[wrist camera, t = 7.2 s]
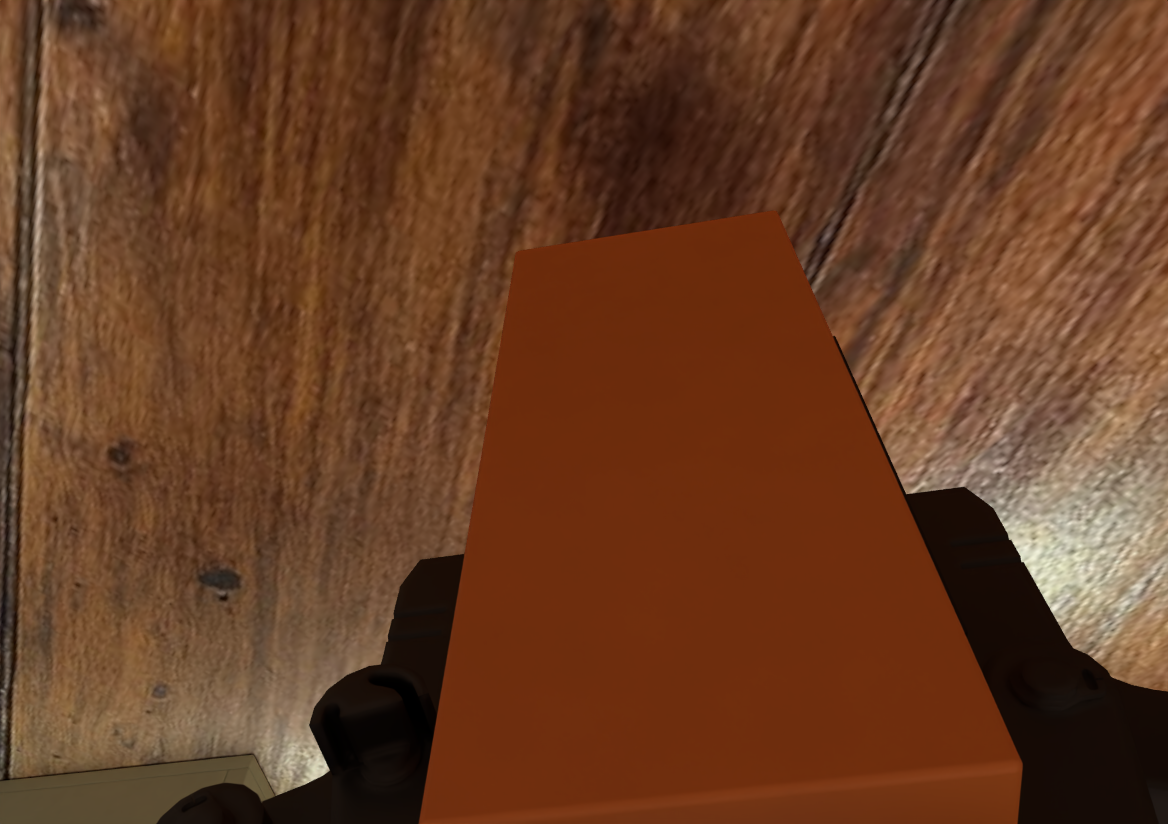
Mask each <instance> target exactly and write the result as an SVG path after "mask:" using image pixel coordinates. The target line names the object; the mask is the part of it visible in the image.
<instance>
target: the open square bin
mask: <svg viewBox="0 0 1168 824" xmlns="http://www.w3.org/2000/svg"><path fill="white" fill-rule="evenodd" d="M220 783H234V784H243V785H245V786H247V787H248V788H250V789H251V790H253V791H254V792H255V793H257V794H258V795H259V797H260V799H261V801H264V800H267V799H269V798H272V797H275V795H274V793H273V792H272V790H271V788H270V786H269V784H268V782H267V780H266V778H265V776H264V774H263V772H262V770H261V768H260V767H259V765H258V763H257V761H256V759H255V757H254V755H245V756H236V757H226V758H216V759H207V760H197V761H188V762H178V763H169V764H159V765H150V766H140V767H130V768H121V769H111V770H102V771H92V772H83V773H73V774H64V775H54V776H44V777H35V778H25V779H16V780H6V781H0V824H156V823H157V822H158V820H159V819H160V817H161V816H163V815H164V814H165V813H166V812H167V811H168V810H169V809H170V808H172V807H173V806H174V805H175V804H176V803H177V802H178V801H179V800H181V799H183V798H184V797H186V796H188V795H190V794H192V793H194V792H196V791H197V790H199V789H201V788H204V787H208V786H212V785H216V784H220Z"/></svg>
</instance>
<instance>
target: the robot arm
mask: <svg viewBox="0 0 1168 824" xmlns="http://www.w3.org/2000/svg"><path fill="white" fill-rule="evenodd" d="M833 338H834V340H835V343H836V345H837V347H838V349H839V352H840V354H841V356H842V358H843V361H844V363H845V365H846V367H847V370H848V372H849V374H850V376H851V379H852V381H853V383H854V385H855V388H856V390H857V392H858V394H859V397H860V399H861V401H862V403H863V406H864V408H865V410H866V412H867V415H868V417H869V419H870V421H871V424H872V426H873V428H874V430H875V433H876V435H877V437H878V439H879V442H880V444H881V446H882V448H883V451H884V453H885V455H886V457H887V460H888V462H889V464H890V466H891V469H892V471H893V473H894V475H895V478H896V480H897V482H898V484H899V487H900V489H901V491H902V493H903V496H904V498H905V500H906V502H907V505H908V507H909V509H910V511H911V514H912V516H913V518H914V520H915V523H916V525H917V527H918V529H919V532H920V534H921V536H922V538H923V541H924V543H925V545H926V547H927V550H928V552H929V554H930V556H931V559H932V561H933V563H934V565H935V568H936V570H937V572H938V574H939V577H940V579H941V581H942V583H943V586H944V588H945V590H946V592H947V595H948V597H949V599H950V601H951V604H952V606H953V608H954V610H955V613H956V615H957V617H958V619H959V622H960V624H961V626H962V628H963V631H964V633H965V635H966V637H967V640H968V642H969V644H970V646H971V649H972V651H973V653H974V655H975V658H976V660H977V662H978V664H979V667H980V669H981V671H982V673H983V676H984V678H985V680H986V682H987V685H988V687H989V689H990V691H991V694H992V696H993V698H994V700H995V703H996V705H997V707H998V709H999V712H1000V714H1001V716H1002V718H1003V721H1004V723H1005V725H1006V727H1007V730H1008V732H1009V734H1010V736H1011V739H1012V741H1013V743H1014V745H1015V748H1016V750H1017V752H1018V754H1019V757H1020V759H1021V761H1022V763H1023V769H1022V780H1021V791H1020V801H1019V812H1018V823H1017V824H1168V692H1167V691H1160V690H1153V689H1148V688H1144V687H1139V686H1134V685H1130V684H1128V683H1125V682H1122V681H1120V680H1117V679H1115V678H1112V677H1111V676H1110V674H1109V673H1108V671H1107V670H1106V669H1105V668H1104V667H1103V666H1101V665H1100V664H1099V663H1098V662H1096V661H1095V660H1094V659H1093V658H1091V657H1090V656H1089V655H1088V654H1085V653H1083V652H1081V651H1078V650H1076V649H1074V648H1073V647H1072V646H1071V644H1070V643H1069V642H1068V640H1067V638H1066V637H1065V635H1064V633H1063V631H1062V629H1061V628H1060V626H1059V624H1058V622H1057V621H1056V619H1055V617H1054V615H1053V613H1052V612H1051V610H1050V608H1049V606H1048V605H1047V603H1046V601H1045V599H1044V597H1043V596H1042V594H1041V592H1040V590H1039V589H1038V587H1037V585H1036V583H1035V582H1034V580H1033V578H1032V576H1031V574H1030V573H1029V571H1028V569H1027V567H1026V566H1025V564H1024V562H1021V558H1020V555H1019V553H1018V551H1017V550H1016V548H1015V546H1014V544H1013V542H1012V541H1011V540H1009V538H1008V534H1007V532H1006V530H1005V528H1004V526H1003V525H1002V523H1001V521H1000V519H999V518H998V516H997V514H996V512H995V510H994V509H993V508H992V507H991V506H990V505H988V504H987V503H986V502H984V501H983V500H982V499H980V498H979V497H978V496H976V495H975V494H973V493H972V492H971V491H969V490H968V489H967V488H965V487H959V488H951V489H943V490H936V491H928V492H920V493H913V494H906V493H905V491H904V489H903V486H902V484H901V482H900V480H899V477H898V475H897V473H896V471H895V468H894V466H893V464H892V462H891V460H890V457H889V455H888V453H887V451H886V448H885V446H884V444H883V442H882V439H881V437H880V435H879V433H878V431H877V428H876V426H875V424H874V422H873V419H872V417H871V415H870V413H869V410H868V408H867V406H866V404H865V402H864V399H863V397H862V395H861V393H860V390H859V388H858V386H857V384H856V381H855V379H854V377H853V375H852V373H851V370H850V368H849V366H848V364H847V361H846V359H845V357H844V355H843V353H842V350H841V348H840V346H839V344H838V341H837V339H836V337H835V336H833ZM464 555H465V554H461V555H453V556H445V557H438V558H430V559H422V560H420V561H419V562H418V563H417V565H416V566H415V567H414V569H413V570H412V571H411V573H410V574H409V575H408V577H407V578H406V579H405V580H404V582H403V583H402V584H401V586H400V589H399V593H398V597H397V601H396V605H395V610H394V619H392V622H391V626H390V630H389V634H388V642H386V646H385V650H384V654H383V658H382V662H381V665H374V666H368V667H366V668H363V669H361V670H358V671H356V672H353V673H351V674H349V675H347V676H345V677H344V678H343V679H341V680H340V681H339V682H337V683H336V684H334V685H333V686H332V687H330V688H329V689H328V690H327V691H326V693H325V694H324V695H323V697H322V698H321V699H320V701H319V702H318V703H317V704H316V706H315V707H314V711H313V714H312V717H311V721H310V724H309V726H310V728H311V731H312V733H313V735H314V737H315V739H316V741H317V744H318V746H319V748H320V750H321V752H322V754H323V756H324V759H325V761H326V763H327V765H328V767H329V769H330V771H329V772H328V773H326V774H325V775H323V776H321V777H319V778H317V779H315V780H313V781H311V782H309V783H307V784H305V785H303V786H300V787H297V788H295V789H292V790H290V791H287V792H285V793H282V794H280V795H277V796H275V797H272V798H269V799H267V800H264V801H261V799H260V797H259V795H258V794H257V793H255V792H254V791H253V790H251V789H250V788H248V787H247V786H245V785H243V784H234V783H220V784H216V785H212V786H208V787H204V788H201V789H199V790H197V791H196V792H194V793H192V794H190V795H188V796H186V797H184V798H183V799H181V800H179V801H178V802H177V803H176V804H175V805H174V806H173V807H172V808H170V809H169V810H168V811H167V812H166V813H165V814H164V815H163V816H161V817H160V819H159V820H158V822H157V823H156V824H419V819H420V813H421V807H422V801H423V795H424V790H425V784H426V778H427V772H428V766H429V760H430V754H431V748H432V743H433V737H434V731H435V725H436V719H437V713H438V707H439V701H440V696H441V690H442V684H443V678H444V672H445V666H446V660H447V654H448V649H449V643H450V637H451V631H452V625H453V619H454V613H455V607H456V602H457V596H458V590H459V584H460V578H461V572H462V566H463V560H464Z"/></svg>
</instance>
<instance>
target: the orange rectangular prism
mask: <svg viewBox="0 0 1168 824" xmlns="http://www.w3.org/2000/svg"><path fill="white" fill-rule="evenodd" d="M1022 769H1023V763H1022V761H1021V759H1020V757H1019V754H1018V752H1017V750H1016V748H1015V745H1014V743H1013V741H1012V739H1011V736H1010V734H1009V732H1008V730H1007V727H1006V725H1005V723H1004V721H1003V718H1002V716H1001V714H1000V712H999V709H998V707H997V705H996V703H995V700H994V698H993V696H992V694H991V691H990V689H989V687H988V685H987V682H986V680H985V678H984V676H983V673H982V671H981V669H980V667H979V664H978V662H977V660H976V658H975V655H974V653H973V651H972V649H971V646H970V644H969V642H968V640H967V637H966V635H965V633H964V631H963V628H962V626H961V624H960V622H959V619H958V617H957V615H956V613H955V610H954V608H953V606H952V604H951V601H950V599H949V597H948V595H947V592H946V590H945V588H944V586H943V583H942V581H941V579H940V577H939V574H938V572H937V570H936V568H935V565H934V563H933V561H932V559H931V556H930V554H929V552H928V550H927V547H926V545H925V543H924V541H923V538H922V536H921V534H920V532H919V529H918V527H917V525H916V523H915V520H914V518H913V516H912V514H911V511H910V509H909V507H908V505H907V502H906V500H905V498H904V496H903V493H902V491H901V489H900V487H899V484H898V482H897V480H896V478H895V475H894V473H893V471H892V469H891V466H890V464H889V462H888V460H887V457H886V455H885V453H884V451H883V448H882V446H881V444H880V442H879V439H878V437H877V435H876V433H875V430H874V428H873V426H872V424H871V421H870V419H869V417H868V415H867V412H866V410H865V408H864V406H863V403H862V401H861V399H860V397H859V394H858V392H857V390H856V388H855V385H854V383H853V381H852V379H851V376H850V374H849V372H848V370H847V367H846V365H845V363H844V361H843V358H842V356H841V354H840V352H839V349H838V347H837V345H836V343H835V340H834V338H833V336H832V334H831V331H830V329H829V327H828V325H827V322H826V320H825V318H824V316H823V313H822V311H821V309H820V307H819V304H818V302H817V300H816V298H815V295H814V293H813V291H812V289H811V286H810V284H809V282H808V280H807V277H806V275H805V273H804V271H803V268H802V266H801V264H800V262H799V259H798V257H797V255H796V253H795V250H794V248H793V246H792V244H791V242H790V239H789V237H788V235H787V233H786V230H785V228H784V226H783V224H782V221H781V219H780V217H779V215H778V213H777V211H767V212H760V213H754V214H748V215H742V216H735V217H729V218H723V219H716V220H710V221H704V222H697V223H691V224H685V225H678V226H672V227H666V228H660V229H653V230H647V231H641V232H634V233H628V234H622V235H615V236H609V237H603V238H597V239H590V240H584V241H578V242H571V243H565V244H559V245H552V246H546V247H540V248H534V249H527V250H521V251H518V252H516V255H515V261H514V267H513V272H512V278H511V284H510V290H509V296H508V302H507V308H506V314H505V320H504V325H503V331H502V337H501V343H500V349H499V355H498V361H497V367H496V372H495V378H494V384H493V390H492V396H491V402H490V408H489V414H488V419H487V425H486V431H485V437H484V443H483V449H482V455H481V461H480V466H479V472H478V478H477V484H476V490H475V496H474V502H473V508H472V513H471V519H470V525H469V531H468V537H467V543H466V549H465V555H464V560H463V566H462V572H461V578H460V584H459V590H458V596H457V602H456V607H455V613H454V619H453V625H452V631H451V637H450V643H449V649H448V654H447V660H446V666H445V672H444V678H443V684H442V690H441V696H440V701H439V707H438V713H437V719H436V725H435V731H434V737H433V743H432V748H431V754H430V760H429V766H428V772H427V778H426V784H425V790H424V795H423V801H422V807H421V813H420V819H419V824H1017V823H1018V812H1019V801H1020V791H1021V780H1022Z"/></svg>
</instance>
